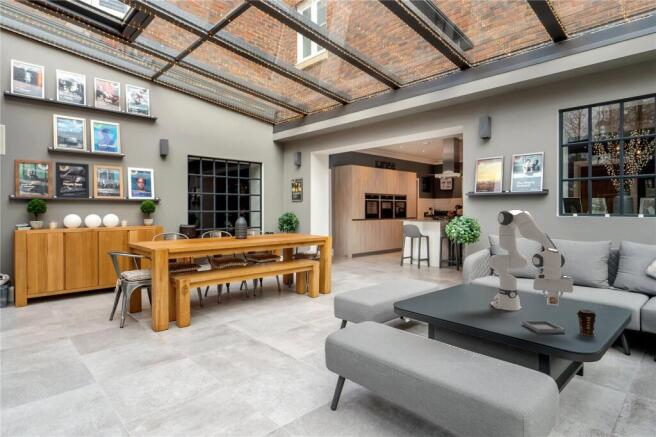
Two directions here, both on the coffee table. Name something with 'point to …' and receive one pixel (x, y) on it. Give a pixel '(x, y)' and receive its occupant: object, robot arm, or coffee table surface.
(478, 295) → the coffee table surface
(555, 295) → the shaker
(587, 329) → the coffee cup
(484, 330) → the coffee table surface
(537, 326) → the tray
